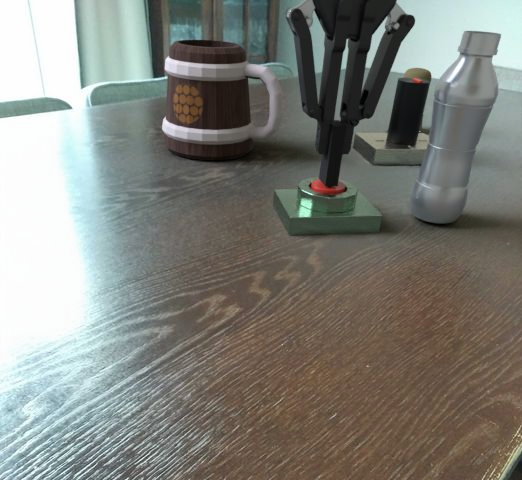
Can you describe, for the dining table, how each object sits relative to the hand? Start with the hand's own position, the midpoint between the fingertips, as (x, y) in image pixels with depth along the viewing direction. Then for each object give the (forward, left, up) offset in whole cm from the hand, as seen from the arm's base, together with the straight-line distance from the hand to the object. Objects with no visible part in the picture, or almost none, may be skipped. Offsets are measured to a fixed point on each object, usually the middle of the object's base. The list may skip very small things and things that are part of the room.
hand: (328, 182), depth 58 cm
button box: (0, 0, -5) cm, 5 cm away
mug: (+9, -29, -5) cm, 31 cm away
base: (-21, -26, -5) cm, 34 cm away
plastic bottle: (-14, +1, -5) cm, 15 cm away
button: (0, 0, -2) cm, 2 cm away
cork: (-30, -43, -5) cm, 53 cm away
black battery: (-21, -26, -2) cm, 34 cm away
